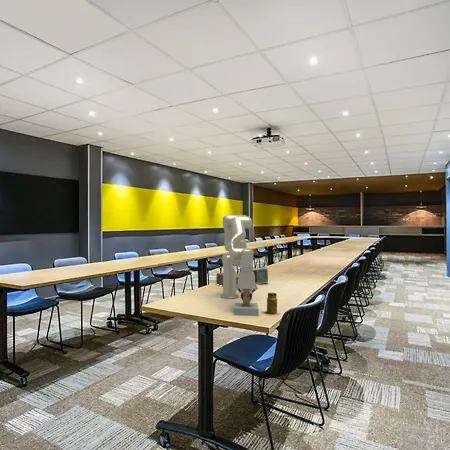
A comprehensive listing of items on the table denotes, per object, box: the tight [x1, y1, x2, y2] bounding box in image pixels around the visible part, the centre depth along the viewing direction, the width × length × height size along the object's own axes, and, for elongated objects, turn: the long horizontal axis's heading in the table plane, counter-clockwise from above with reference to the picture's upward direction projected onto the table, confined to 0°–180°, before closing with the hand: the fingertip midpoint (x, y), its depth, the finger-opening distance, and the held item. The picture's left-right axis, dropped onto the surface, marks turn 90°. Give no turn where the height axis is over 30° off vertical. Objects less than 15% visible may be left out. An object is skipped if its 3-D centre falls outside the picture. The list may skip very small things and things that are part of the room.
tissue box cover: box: [216, 272, 239, 287], centre depth 285 cm, size 26×14×10 cm, turn 32°
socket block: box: [233, 302, 259, 317], centre depth 204 cm, size 14×14×4 cm
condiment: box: [261, 292, 280, 316], centre depth 202 cm, size 7×8×12 cm
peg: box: [242, 289, 251, 307], centre depth 203 cm, size 4×4×12 cm
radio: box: [253, 266, 269, 285], centre depth 297 cm, size 23×9×15 cm, turn 98°
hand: (246, 299), depth 203 cm, fingers closed on peg, 4 cm apart
